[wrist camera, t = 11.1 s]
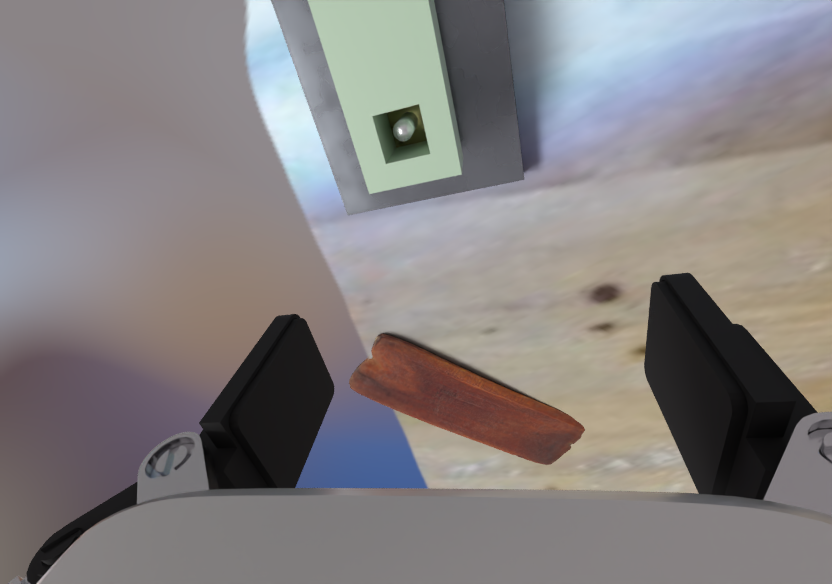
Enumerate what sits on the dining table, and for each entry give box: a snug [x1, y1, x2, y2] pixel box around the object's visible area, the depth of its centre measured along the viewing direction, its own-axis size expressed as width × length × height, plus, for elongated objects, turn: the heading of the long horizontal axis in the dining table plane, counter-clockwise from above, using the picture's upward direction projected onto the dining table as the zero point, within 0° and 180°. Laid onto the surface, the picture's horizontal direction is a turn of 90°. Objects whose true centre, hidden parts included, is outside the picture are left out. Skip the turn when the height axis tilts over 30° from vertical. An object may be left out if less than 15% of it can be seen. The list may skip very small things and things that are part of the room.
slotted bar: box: [308, 0, 463, 194], centre depth 23 cm, size 6×18×4 cm, turn 14°
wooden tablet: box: [349, 334, 585, 465], centre depth 46 cm, size 27×10×2 cm, turn 64°
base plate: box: [271, 0, 524, 215], centre depth 24 cm, size 14×24×6 cm, turn 15°
